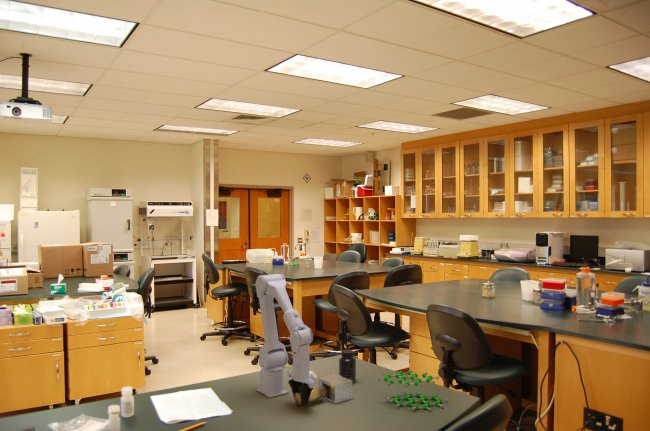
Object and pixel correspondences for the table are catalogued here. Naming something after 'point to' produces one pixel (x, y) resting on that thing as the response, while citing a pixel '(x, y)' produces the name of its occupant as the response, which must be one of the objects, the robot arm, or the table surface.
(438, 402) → the molecule models
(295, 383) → the robot arm
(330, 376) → the housing
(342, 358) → the supplement bottle
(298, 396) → the amber cylinder
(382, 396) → the table surface
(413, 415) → the table surface
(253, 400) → the table surface
